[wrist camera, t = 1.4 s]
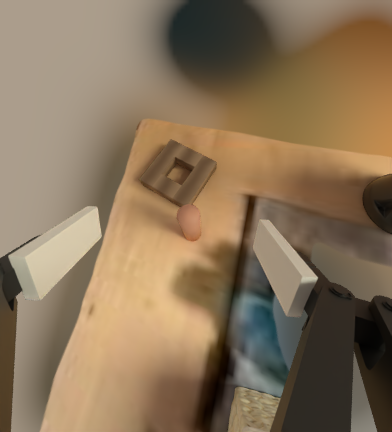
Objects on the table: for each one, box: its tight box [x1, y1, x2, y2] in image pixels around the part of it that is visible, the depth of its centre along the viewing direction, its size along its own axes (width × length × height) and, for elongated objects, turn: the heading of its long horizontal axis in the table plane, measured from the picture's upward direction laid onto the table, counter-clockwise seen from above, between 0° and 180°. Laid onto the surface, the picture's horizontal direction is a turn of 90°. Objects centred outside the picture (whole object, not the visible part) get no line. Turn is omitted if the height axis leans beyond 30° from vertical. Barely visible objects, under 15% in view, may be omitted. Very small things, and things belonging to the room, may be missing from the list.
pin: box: [177, 204, 201, 241], centre depth 37 cm, size 4×4×13 cm
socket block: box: [139, 139, 217, 207], centre depth 47 cm, size 14×14×3 cm
